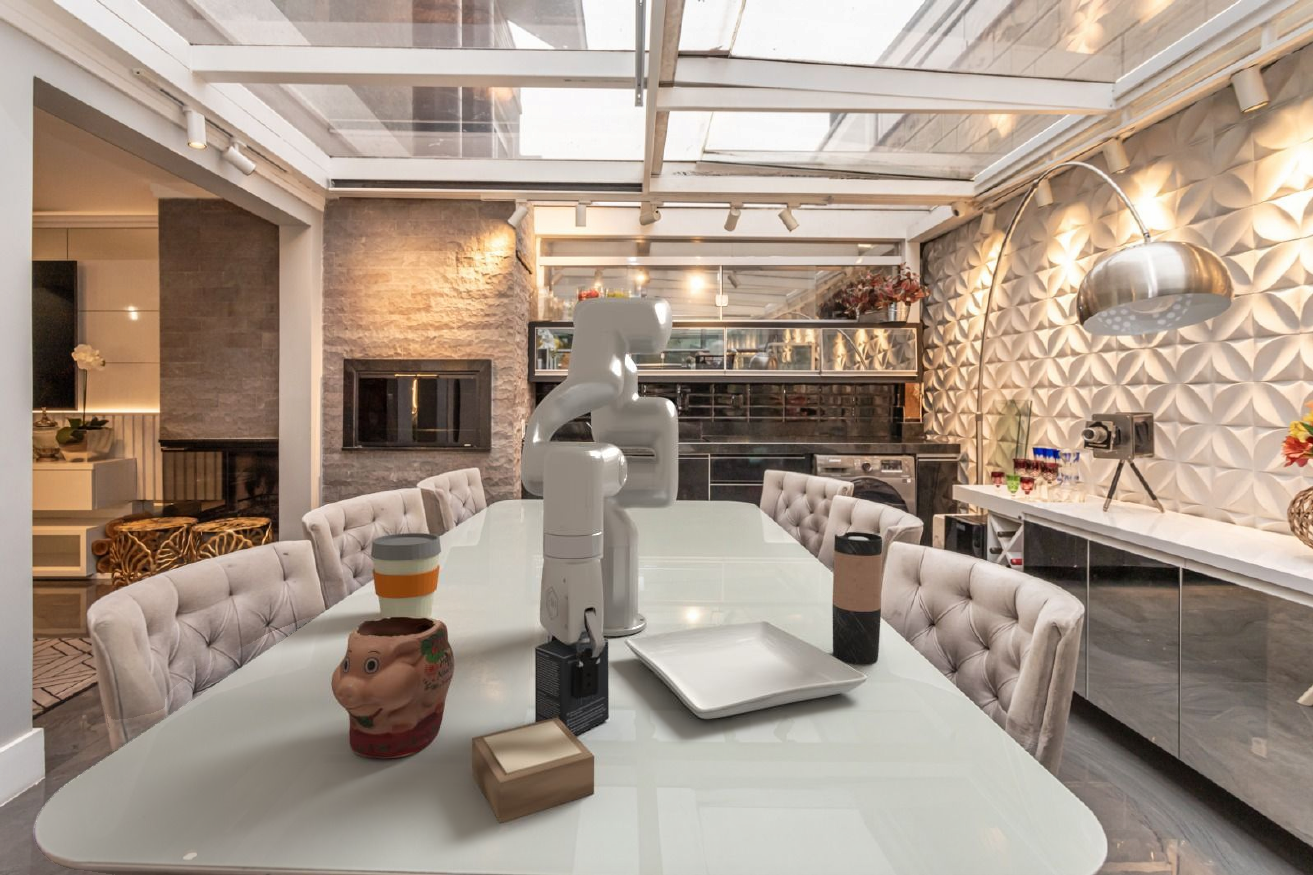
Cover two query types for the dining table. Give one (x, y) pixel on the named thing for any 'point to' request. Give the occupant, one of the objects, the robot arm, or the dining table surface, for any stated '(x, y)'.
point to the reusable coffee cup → (406, 573)
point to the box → (568, 687)
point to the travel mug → (857, 597)
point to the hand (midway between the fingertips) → (572, 683)
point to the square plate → (742, 667)
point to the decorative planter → (394, 684)
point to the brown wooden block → (531, 768)
